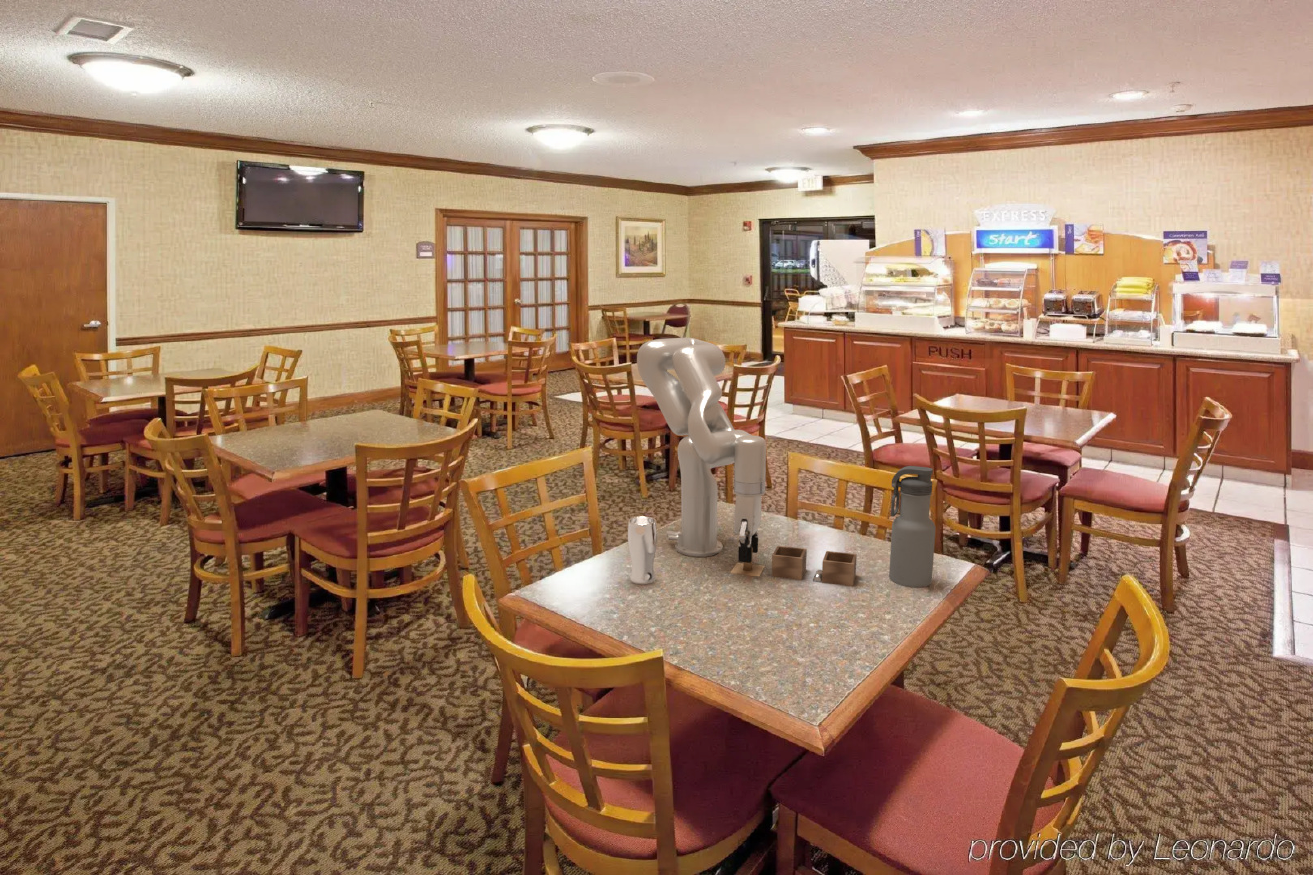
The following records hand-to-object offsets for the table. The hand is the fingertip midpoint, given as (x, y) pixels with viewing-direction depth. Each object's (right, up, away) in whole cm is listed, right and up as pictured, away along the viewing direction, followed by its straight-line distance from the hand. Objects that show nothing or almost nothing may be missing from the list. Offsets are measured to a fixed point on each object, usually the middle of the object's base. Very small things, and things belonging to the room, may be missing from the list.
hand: (748, 556), depth 197 cm
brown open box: (+10, -4, -1) cm, 11 cm away
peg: (+15, -4, -5) cm, 17 cm away
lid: (0, -4, +1) cm, 4 cm away
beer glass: (-26, -5, -4) cm, 27 cm away
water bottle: (+38, -5, -6) cm, 39 cm away
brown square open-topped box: (+21, -5, -5) cm, 22 cm away
